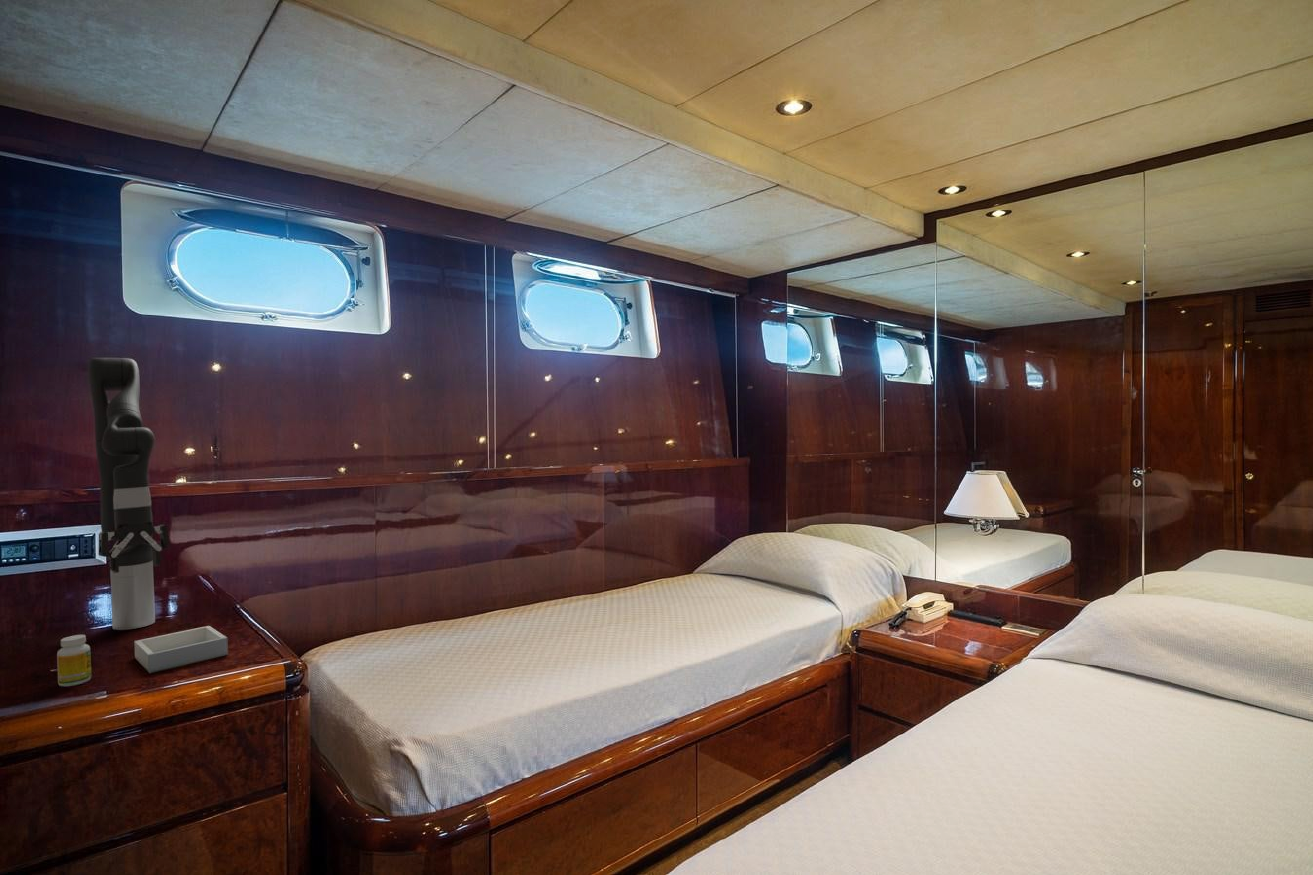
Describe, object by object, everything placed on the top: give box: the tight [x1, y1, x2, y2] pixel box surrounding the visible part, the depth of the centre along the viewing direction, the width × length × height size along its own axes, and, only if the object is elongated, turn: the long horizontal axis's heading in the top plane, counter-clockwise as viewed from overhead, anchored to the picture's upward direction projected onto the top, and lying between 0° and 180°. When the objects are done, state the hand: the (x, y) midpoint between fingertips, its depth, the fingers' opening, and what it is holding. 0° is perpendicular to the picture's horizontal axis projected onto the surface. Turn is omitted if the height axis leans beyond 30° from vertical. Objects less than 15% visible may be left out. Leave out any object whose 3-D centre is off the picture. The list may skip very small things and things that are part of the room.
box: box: [134, 625, 229, 674], centre depth 157 cm, size 15×15×4 cm
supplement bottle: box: [56, 634, 92, 687], centre depth 142 cm, size 5×5×10 cm
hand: (136, 569), depth 170 cm, fingers open, 8 cm apart
